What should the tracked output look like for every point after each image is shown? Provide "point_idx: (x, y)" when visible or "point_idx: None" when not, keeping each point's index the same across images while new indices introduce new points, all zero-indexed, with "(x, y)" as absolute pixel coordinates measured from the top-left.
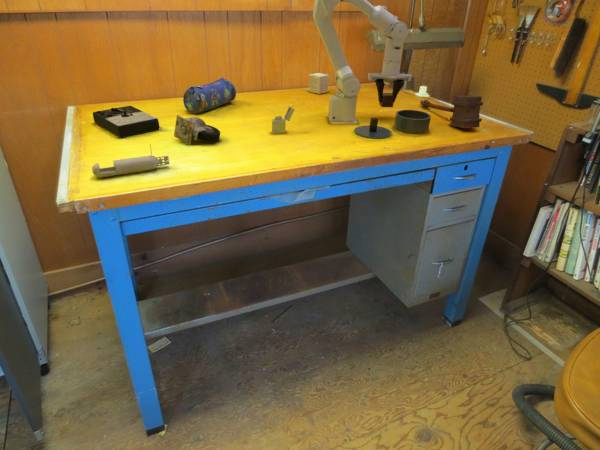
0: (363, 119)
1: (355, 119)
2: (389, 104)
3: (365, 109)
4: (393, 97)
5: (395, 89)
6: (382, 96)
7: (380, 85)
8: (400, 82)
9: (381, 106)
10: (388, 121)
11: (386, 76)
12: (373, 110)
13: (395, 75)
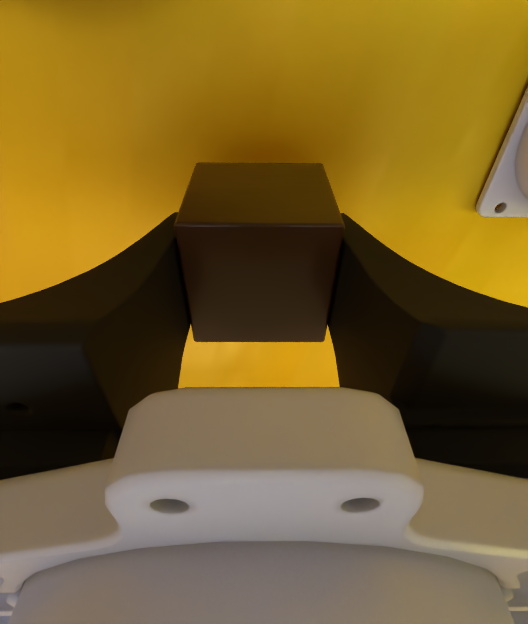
0: (416, 175)
1: (518, 127)
2: (237, 173)
3: (315, 357)
4: (189, 213)
5: (151, 299)
6: (338, 238)
7: (491, 306)
8: (6, 363)
9: (323, 170)
10: (228, 128)
11: (478, 521)
12: (275, 346)
13: (120, 578)
